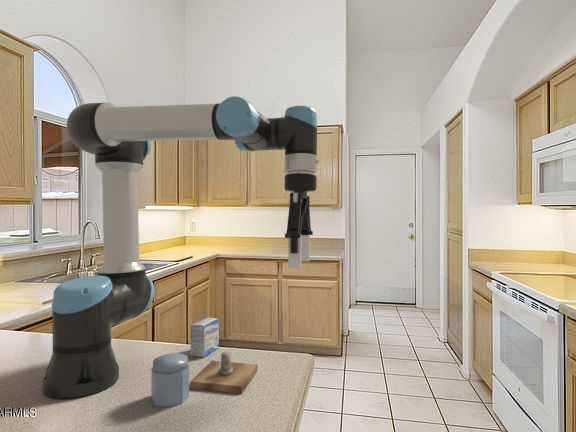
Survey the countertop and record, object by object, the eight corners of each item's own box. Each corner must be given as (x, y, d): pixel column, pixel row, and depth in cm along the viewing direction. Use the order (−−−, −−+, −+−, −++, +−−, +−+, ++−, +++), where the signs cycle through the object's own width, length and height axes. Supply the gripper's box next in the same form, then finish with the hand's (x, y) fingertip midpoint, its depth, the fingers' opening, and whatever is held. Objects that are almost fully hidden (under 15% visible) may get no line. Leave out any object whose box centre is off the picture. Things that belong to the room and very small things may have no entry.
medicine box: (204, 358, 99) (204, 325, 99) (190, 356, 100) (190, 324, 100) (219, 348, 106) (219, 318, 106) (205, 346, 108) (205, 316, 108)
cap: (145, 404, 74) (145, 364, 74) (164, 388, 81) (164, 352, 81) (177, 408, 73) (177, 367, 73) (193, 391, 79) (193, 354, 80)
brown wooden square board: (190, 388, 81) (190, 361, 81) (212, 366, 93) (212, 343, 93) (241, 393, 79) (242, 366, 79) (257, 370, 91) (257, 346, 91)
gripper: (309, 166, 73) (308, 272, 73) (322, 179, 98) (321, 258, 98) (272, 167, 75) (271, 271, 75) (294, 179, 99) (293, 258, 99)
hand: (299, 264), depth 86 cm, fingers open, 13 cm apart
